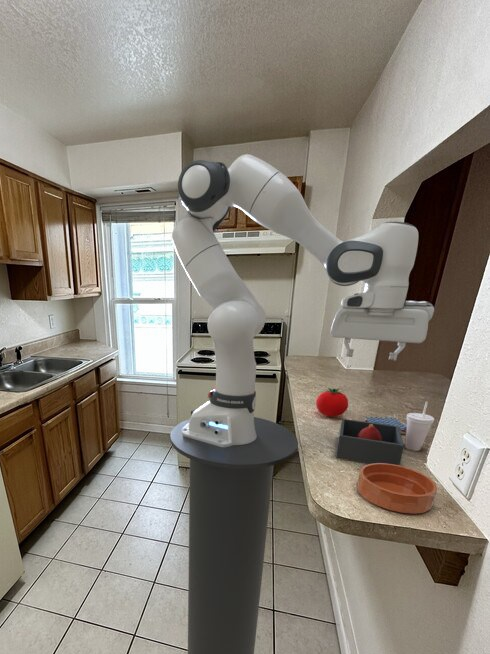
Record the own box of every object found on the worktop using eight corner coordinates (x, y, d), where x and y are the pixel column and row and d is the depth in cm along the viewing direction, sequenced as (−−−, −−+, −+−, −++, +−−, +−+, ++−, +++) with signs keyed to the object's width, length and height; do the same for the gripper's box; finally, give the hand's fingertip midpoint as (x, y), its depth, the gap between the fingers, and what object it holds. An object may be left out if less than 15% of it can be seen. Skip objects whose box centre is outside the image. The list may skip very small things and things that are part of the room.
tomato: (349, 421, 121) (354, 393, 118) (317, 420, 123) (321, 392, 120) (341, 411, 131) (346, 385, 127) (311, 410, 133) (315, 384, 129)
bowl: (356, 504, 76) (360, 486, 74) (357, 474, 88) (360, 458, 86) (437, 522, 70) (443, 503, 68) (426, 488, 81) (430, 470, 80)
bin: (335, 458, 96) (339, 435, 94) (338, 438, 108) (341, 418, 106) (398, 469, 90) (404, 445, 88) (393, 447, 102) (398, 426, 100)
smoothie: (425, 454, 97) (438, 406, 92) (398, 449, 101) (409, 402, 96) (426, 446, 102) (439, 400, 97) (400, 441, 106) (411, 396, 101)
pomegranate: (370, 446, 101) (376, 420, 99) (383, 455, 96) (389, 427, 93) (351, 446, 101) (356, 420, 98) (362, 455, 96) (368, 428, 93)
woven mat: (375, 433, 111) (376, 427, 111) (362, 421, 121) (363, 416, 120) (410, 435, 110) (412, 429, 109) (395, 422, 120) (396, 417, 119)
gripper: (434, 300, 81) (417, 360, 86) (336, 298, 90) (327, 352, 95) (439, 302, 76) (421, 365, 81) (335, 299, 85) (325, 356, 90)
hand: (370, 358), depth 88 cm, fingers open, 8 cm apart
